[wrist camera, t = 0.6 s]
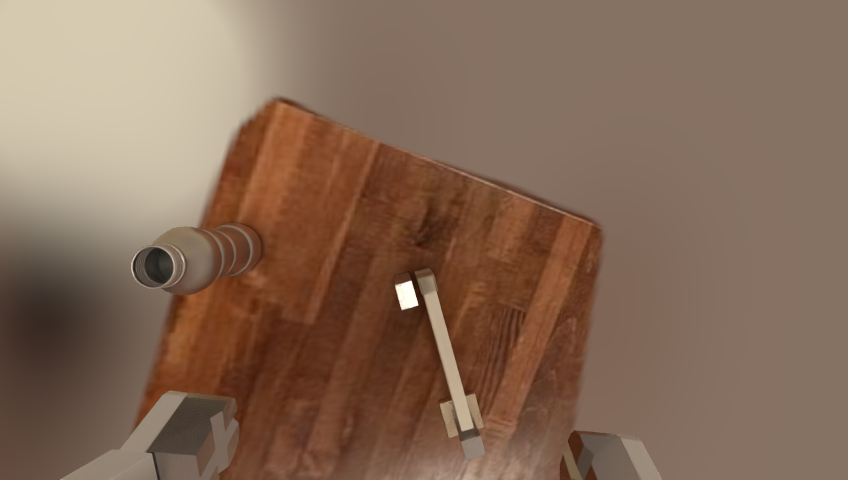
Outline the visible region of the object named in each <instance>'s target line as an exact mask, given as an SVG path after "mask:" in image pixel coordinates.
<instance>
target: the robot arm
mask: <svg viewBox="0 0 848 480" xmlns="http://www.w3.org/2000/svg"><path fill="white" fill-rule="evenodd" d="M236 411H237V404H236V399H234V398H229V397H221V396H213V395H205V394H197V393H186V392H178V391H168V392H167V393H165V394H163V395H162V396H161V398H160V399H159V400H158V401H157V403H156V404H155V405H154V406H153V408H152V409H151V410H150V411H149V413H148V414H147V415H146V417H145V418H144V419H143V420H142V422H141V423H140V424H139V425H138V427H137V428H136V429H135V430H134V432H133V433H132V434H131V435H130V437H129V438H128V439H127V441H126V442H125V443H124V444H123V446H122V447H121V448H120V449H119V450H110V451H109V452H107V453H105V454H104V455H102V456H100V457H98V458H97V459H95V460H93V461H92V462H90V463H88V464H86V465H85V466H83V467H81V468H79V469H78V470H76V471H74V472H72V473H71V474H69V475H68V476H65V477H64V478H62V479H60V480H219V473H220V472H221V471H223V470H224V469H225V468H227V467H228V466H229V464H230V462H231V460H232V458H233V456H234V454H235V450H236V447H237V443H238V438H239V423H238V422H237V421H236V420H235V419H234V418H233V417H234V415H235V413H236ZM568 443H569V446H570V450H568V451H567V452H565V453H564V454H563V456H562V459H561V463H560V480H662V478H661V477H660V475H659V473H658V471H657V469H656V467H655V466H654V464H653V462H652V460H651V458H650V457H649V455H648V453H647V451H646V449H645V447H644V446H643V444H642V442H641V440H640V439H639V438H638V437H637V436H631V435H620V434H610V433H599V432H587V431H576V430H574V431H573V432H572V433H571V434H570V437H569V439H568Z"/></svg>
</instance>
